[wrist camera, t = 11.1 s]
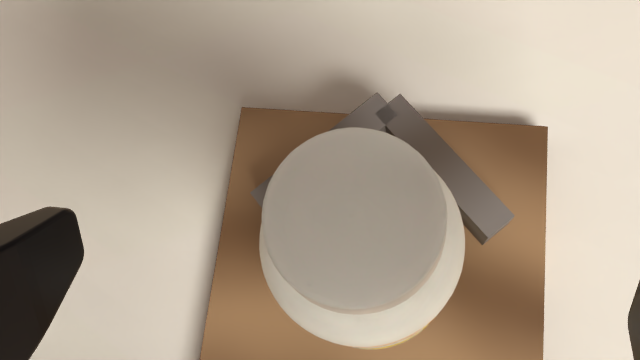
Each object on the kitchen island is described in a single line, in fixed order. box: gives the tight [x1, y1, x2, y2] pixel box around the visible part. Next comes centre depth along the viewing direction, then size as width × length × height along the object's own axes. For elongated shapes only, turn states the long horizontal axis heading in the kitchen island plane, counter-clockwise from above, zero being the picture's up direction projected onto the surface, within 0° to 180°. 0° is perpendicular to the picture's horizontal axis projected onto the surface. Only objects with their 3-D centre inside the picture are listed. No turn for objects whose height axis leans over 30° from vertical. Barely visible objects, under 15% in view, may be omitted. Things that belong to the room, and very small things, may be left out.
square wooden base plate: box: [200, 93, 548, 360], centre depth 21 cm, size 12×12×2 cm
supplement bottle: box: [259, 127, 465, 350], centre depth 17 cm, size 5×5×10 cm
